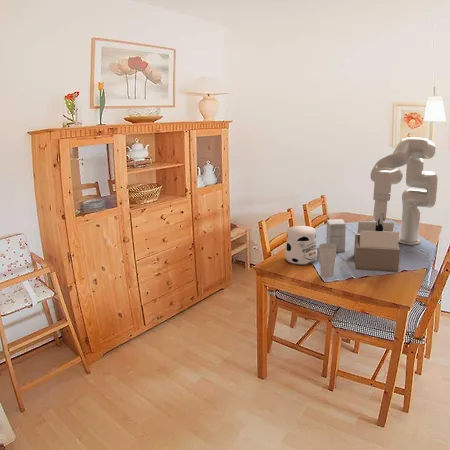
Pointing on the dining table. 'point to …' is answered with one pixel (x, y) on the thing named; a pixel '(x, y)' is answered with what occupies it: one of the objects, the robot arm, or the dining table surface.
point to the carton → (376, 258)
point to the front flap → (379, 239)
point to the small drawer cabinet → (336, 233)
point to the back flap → (374, 226)
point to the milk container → (301, 245)
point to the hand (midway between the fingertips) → (378, 233)
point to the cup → (327, 259)
